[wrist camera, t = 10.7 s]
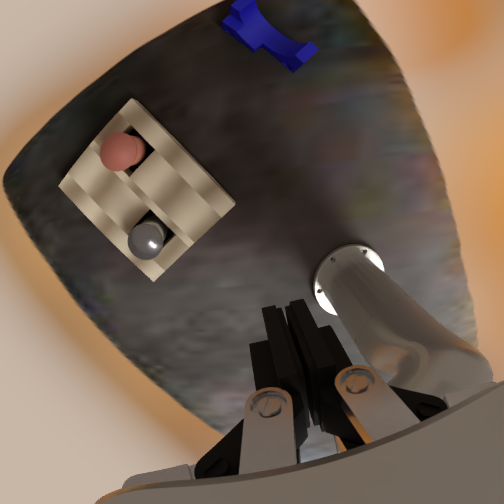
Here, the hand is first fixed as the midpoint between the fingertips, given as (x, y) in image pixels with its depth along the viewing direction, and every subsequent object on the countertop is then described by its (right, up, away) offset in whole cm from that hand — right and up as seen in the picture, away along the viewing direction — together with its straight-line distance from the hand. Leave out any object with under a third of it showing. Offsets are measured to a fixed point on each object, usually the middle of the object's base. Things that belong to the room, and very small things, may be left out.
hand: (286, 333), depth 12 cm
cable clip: (0, +32, +23) cm, 40 cm away
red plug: (-17, +17, +25) cm, 35 cm away
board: (-16, +12, +28) cm, 35 cm away
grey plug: (-15, +6, +30) cm, 34 cm away
